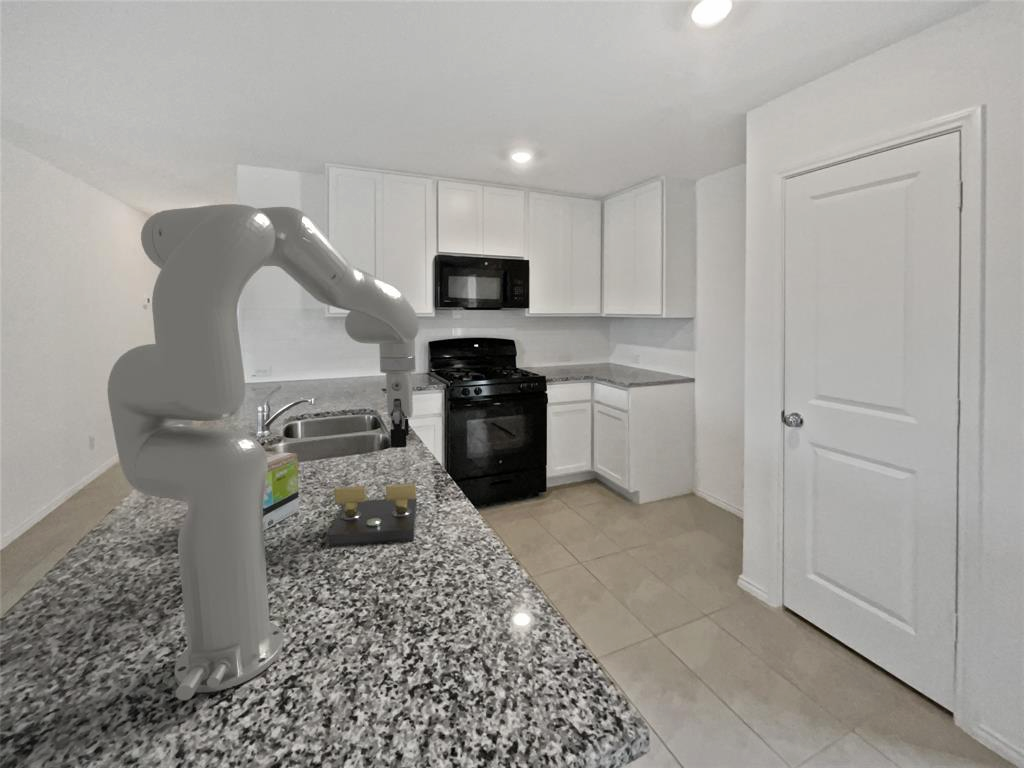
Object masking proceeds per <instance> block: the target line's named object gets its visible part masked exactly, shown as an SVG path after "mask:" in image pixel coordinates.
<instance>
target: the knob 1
mask: <svg viewBox="0 0 1024 768" xmlns="http://www.w3.org/2000/svg"><path fill="white" fill-rule="evenodd" d="M366 490H367V487H366V485H358V486H357V485H356V486H355V485H354V486H335V488H334V489H333V493H334V494H333V497H334V499H333V500H334V504H344V503H345V515H346V516H354V515H356V514H357V502H365V500H367V491H366Z"/></svg>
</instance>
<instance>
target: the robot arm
mask: <svg viewBox="0 0 1024 768" xmlns="http://www.w3.org/2000/svg"><path fill="white" fill-rule="evenodd" d="M140 240H141V241H140V242H141V247H142V249H143V251H144V253H145V255H146V256H147V258H148V259H149V260H150V261H151V263H153V264H154V265H155V266H156V267H158V268H159V269H160V271H159V273H158V276H157V278H156V280H155V283H154V287H153V290H152V300H151V312H152V320H153V332H154V334H153V335H154V341H155V344H154V343H149V344H142V345H139V346H136V347H133V348H131V349H129V350H127V351H126V352H125V353H123V354H122V355H120V357H119V358H118V359H117V360H116V361H115V363H114V364H113V366H112V368H111V371H110V372H109V376H108V381H107V388H106V389H107V391H106V392H107V400H108V407H109V413H110V417H111V418H110V419H111V422H112V423H111V424H112V429H113V435H114V440H115V445H116V450H117V454H118V456H117V457H118V460H119V464H120V467H121V471H122V474H123V475H124V478H125V480H126V481H127V483H128V484H129V485H130V486H131V487H132V488H133V489H134V490H136V491H137V492H139V493H141V494H143V495H147V496H151V497H155V498H162V499H168V500H174V501H179V502H183V503H186V504H187V511H186V515H185V518H184V520H183V522H182V524H181V527H180V529H179V533H178V538H177V552H178V555H177V556H178V562H179V572H180V573H179V575H180V584H181V585H180V586H181V594H182V605H183V615H184V623H185V624H184V625H185V636H186V638H185V639H186V647H187V648H186V649H185V650H184V651H183V652H182V653H181V655H180V656H178V658H177V661H176V662H175V665H174V671H173V672H174V680H175V682H176V684H177V688H176V689H175V697H176V698H177V699H178V700H179V701H188V700H190V699H191V698H192V697H193V696H194V694H195V693H197V694H198V693H200V694H201V693H202V692H203V693H213V692H219V691H224V690H227V688H228V689H231V688H234V687H236V686H238V685H241V684H244V683H245V682H247V681H249V680H251V679H253V678H255V677H256V676H258V675H260V674H261V673H263V672H264V671H266V669H267V668H269V667H270V666H271V665H272V664H273V663H274V662H275V661H276V659H278V657H279V656H280V655H281V652H282V650H283V647H284V643H285V642H284V640H285V639H284V633H283V630H282V629H281V628H280V627H279V626H278V625H276V624H274V623H273V622H270V608H269V606H270V605H269V592H268V591H269V590H268V577H267V576H268V575H267V564H266V563H267V562H266V561H267V560H266V547H265V535H264V531H265V530H264V531H263V498H264V490H265V484H266V478H267V471H268V460H267V455H266V452H265V451H266V450H265V448H264V447H263V445H262V444H261V443H260V442H259V441H258V440H257V439H255V438H254V437H252V436H251V435H248V434H246V433H244V432H240V431H237V430H233V429H225V428H216V427H215V428H214V427H213V428H212V427H202V426H200V427H197V426H194V425H193V421H195V422H214V421H217V422H218V421H221V420H226V419H228V418H230V417H232V416H233V415H235V414H236V413H238V411H239V410H240V409H241V407H242V406H243V404H244V401H245V397H246V396H245V395H246V383H245V382H246V378H245V373H244V372H245V371H244V364H243V356H242V355H243V353H242V348H241V346H242V345H241V339H240V332H239V320H238V319H239V318H238V309H239V308H238V307H239V306H238V305H239V301H240V298H241V297H240V296H241V295H242V292H243V290H244V289H245V287H246V285H247V283H248V282H249V281H250V279H251V278H252V277H253V276H254V275H256V273H257V272H258V271H259V270H260V269H262V268H263V267H277V268H280V269H281V270H283V271H284V272H285V273H286V274H287V275H289V276H290V277H291V278H292V279H293V280H294V281H295V282H296V283H297V284H298V285H300V286H301V288H303V289H304V291H306V292H307V293H308V294H310V295H311V296H312V297H313V298H314V299H315V300H316V301H318V302H320V303H322V304H324V305H327V306H330V307H333V308H336V309H339V310H340V309H341V310H344V311H349V312H348V313H347V315H346V317H345V319H344V328H345V331H346V333H347V335H348V336H349V338H350V339H352V341H355V342H357V343H360V344H366V345H367V344H368V345H369V344H373V345H374V344H375V345H377V344H378V345H379V346H378V347H379V366H380V367H379V372H380V373H382V374H385V385H386V386H385V389H386V392H385V393H386V406H387V416H388V418H389V419H390V430H389V431H390V448H392V449H396V448H397V449H399V448H407V444H408V443H407V437H408V436H409V435H410V434H409V433H410V432H409V431H410V430H409V429H410V428H409V419H411V418H412V416H413V411H414V405H413V404H414V403H413V401H414V400H413V382H412V373H415V372H417V371H416V370H417V369H416V342H415V341H416V340H415V339H416V338H417V335H418V334H419V333H418V332H419V326H420V324H419V318H418V315H417V313H416V311H415V309H414V308H413V306H412V305H411V304H410V302H409V301H408V300H407V298H406V297H405V296H404V295H403V294H402V292H401V291H400V290H398V289H397V288H396V287H394V286H393V285H391V284H390V283H388V282H386V281H384V280H382V279H380V278H378V277H376V276H375V275H373V274H371V273H368V272H367V271H364V270H363V269H360V268H357V267H356V266H354V265H353V264H351V262H349V260H348V259H347V258H346V257H345V256H344V255H343V253H341V252H340V250H339V249H338V248H337V247H336V246H335V245H334V243H333V242H332V241H331V240H330V238H329V237H327V235H326V234H325V233H324V232H323V231H322V230H321V229H320V228H319V226H318V225H317V224H316V223H315V222H314V221H313V220H312V218H310V216H308V214H306V213H305V212H304V211H302V210H300V209H298V208H295V207H290V206H273V207H272V206H270V207H259V208H256V207H253V206H251V205H246V204H238V203H227V204H226V203H225V204H210V205H201V206H197V207H196V206H194V207H184V208H183V207H182V208H173V209H165V210H161V211H159V212H156V213H154V214H153V215H150V216H149V218H148V219H146V221H145V223H144V224H143V226H142V229H141V232H140ZM233 686H234V687H233Z"/></svg>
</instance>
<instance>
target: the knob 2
mask: <svg viewBox="0 0 1024 768" xmlns="http://www.w3.org/2000/svg"><path fill="white" fill-rule="evenodd" d="M416 489H417V487H416V483H415V482H413V483H412V482H411V483H399V484H397V483H395V484H394V483H393V484H390V483H389V484H388V483H387V484H386V486H385V499H386V500H395V502H396V512H397V513H404V512H407V499H416V497H417V496H416V495H417V494H416V493H417V490H416Z"/></svg>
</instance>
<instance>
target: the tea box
mask: <svg viewBox="0 0 1024 768" xmlns="http://www.w3.org/2000/svg"><path fill="white" fill-rule="evenodd" d="M265 452H266V455H267V460H268V471H267V478H266V484H265V490H264V498H263V531H266V530H268V529H269V528H271V527H273V526H274V525H276V524H278V523H280V522H282V521H284V520H286V519H287V518H288V517H291V516H293V515H294V514H297V513H298V512H299V511H300V500H299V499H300V498H299V494H300V493H299V472H298V471H299V470H298V465H299V464H298V463H299V462H298V454H297V453H291V452H280V451H279V452H278V451H270V450H269V451H267V450H265Z"/></svg>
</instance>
